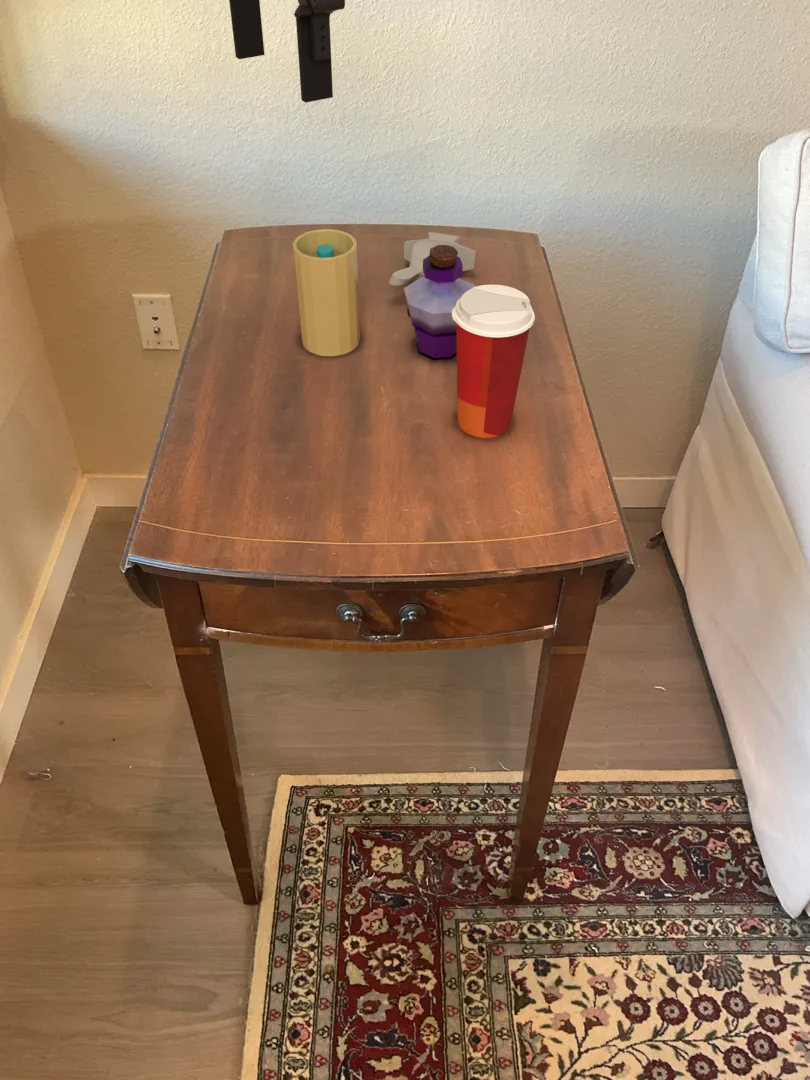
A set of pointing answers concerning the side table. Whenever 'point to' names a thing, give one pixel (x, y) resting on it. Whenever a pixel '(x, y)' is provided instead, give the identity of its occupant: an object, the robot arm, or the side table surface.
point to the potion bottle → (437, 303)
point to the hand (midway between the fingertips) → (282, 76)
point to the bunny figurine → (421, 250)
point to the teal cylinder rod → (325, 251)
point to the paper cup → (490, 356)
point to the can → (327, 292)
